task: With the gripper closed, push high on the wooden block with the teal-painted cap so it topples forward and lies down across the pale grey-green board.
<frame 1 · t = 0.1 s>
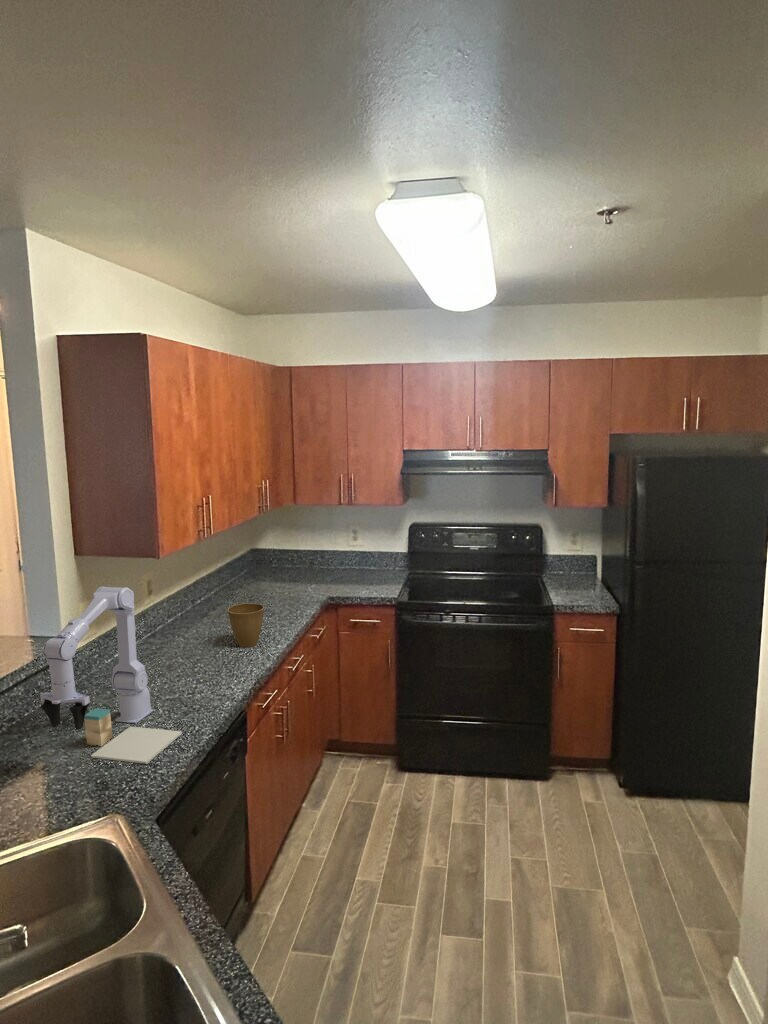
hand: (68, 726, 183), 10 cm above the counter, tool pointing down, fingers open, 7 cm apart
plant pot: (248, 645, 276), on the counter
wooden block: (99, 741, 196), on the counter
board: (137, 745, 192), on the counter
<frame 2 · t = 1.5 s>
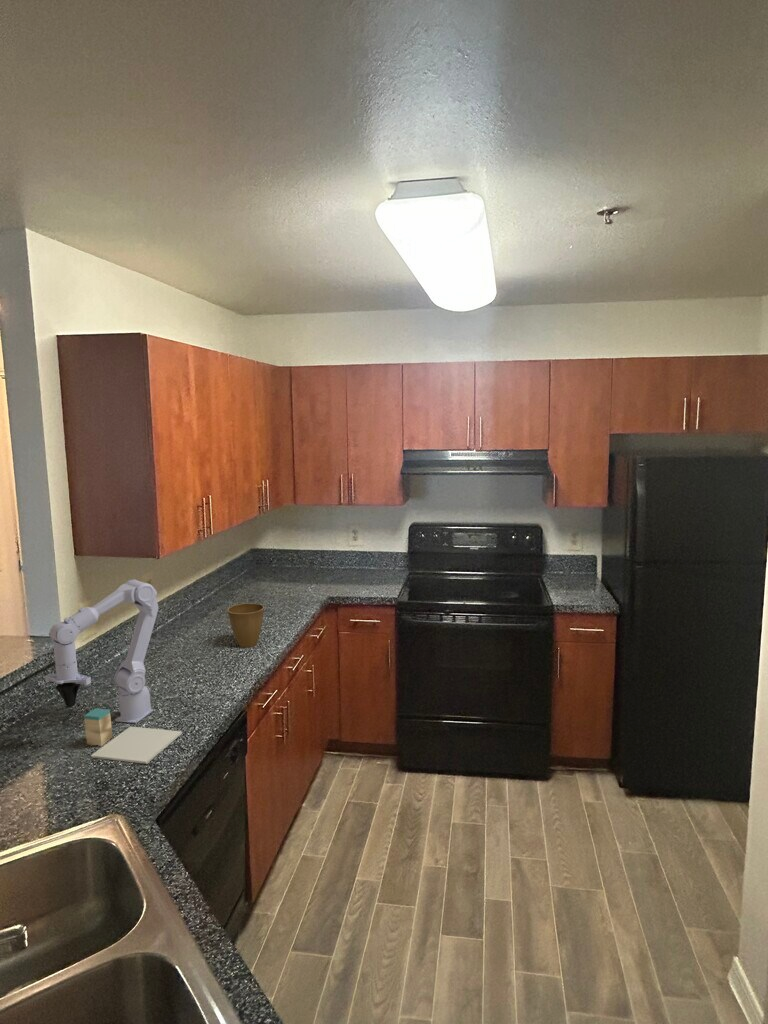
hand: (70, 705, 197), 10 cm above the counter, tool pointing down, fingers closed
nothing on the counter moved.
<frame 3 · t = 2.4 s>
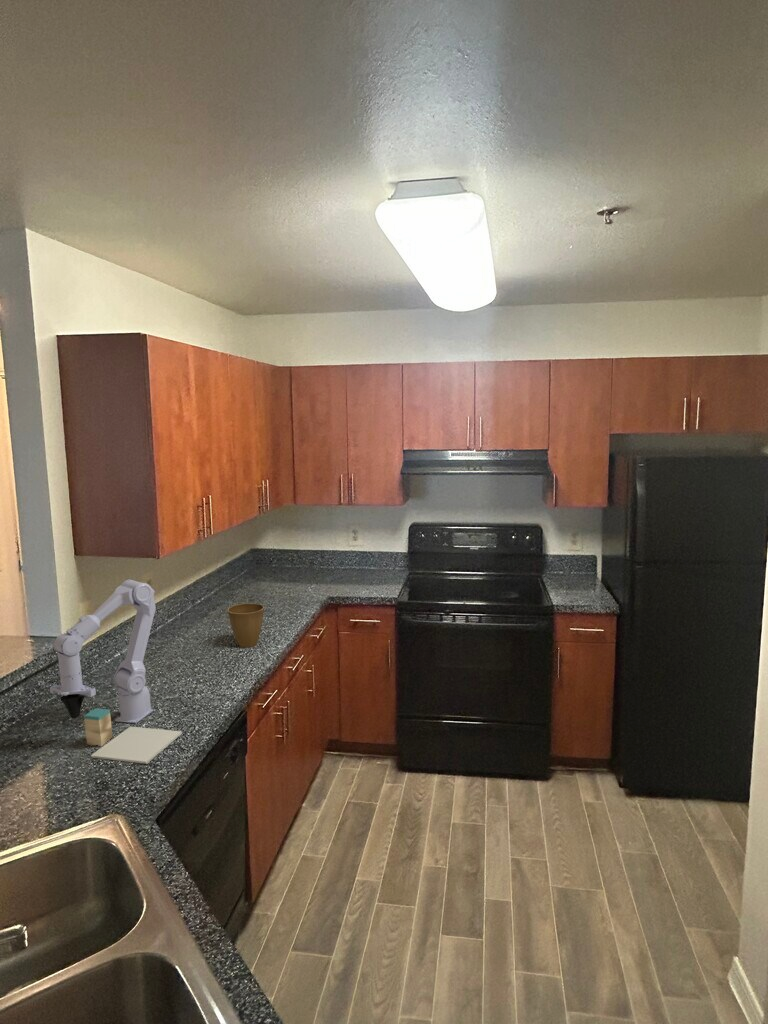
hand: (75, 717, 197), 7 cm above the counter, tool pointing down, fingers closed
nothing on the counter moved.
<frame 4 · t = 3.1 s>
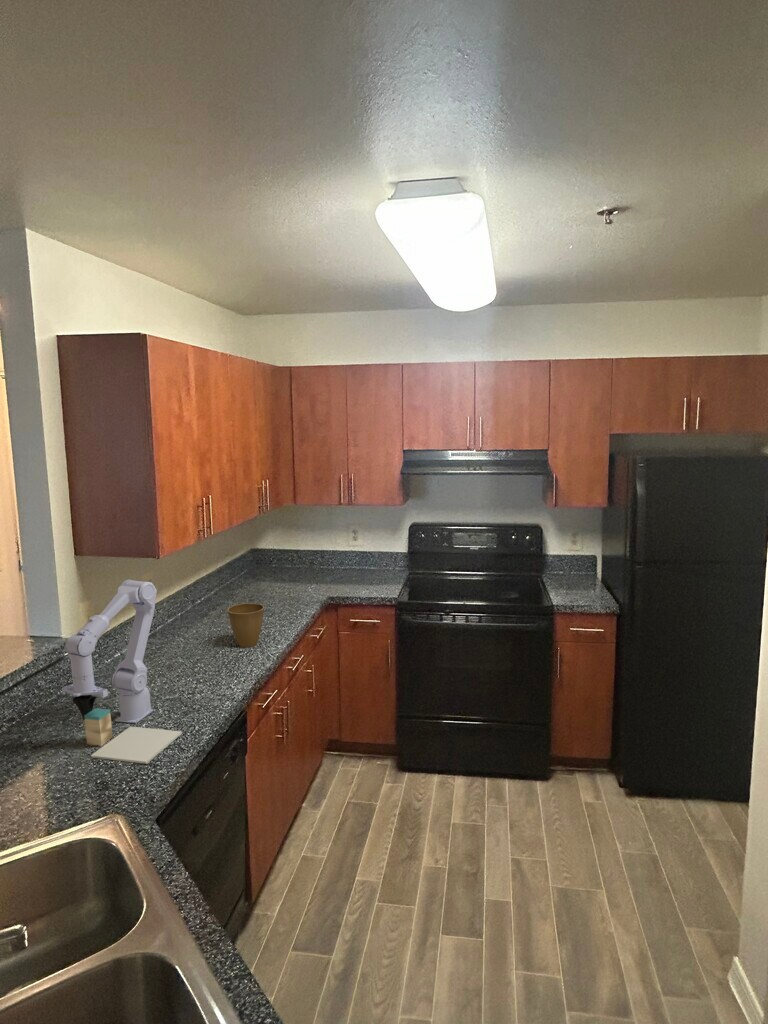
hand: (87, 718, 196), 7 cm above the counter, tool pointing down, fingers closed
wooden block: (99, 741, 196), on the counter, touching gripper
everything else where it was.
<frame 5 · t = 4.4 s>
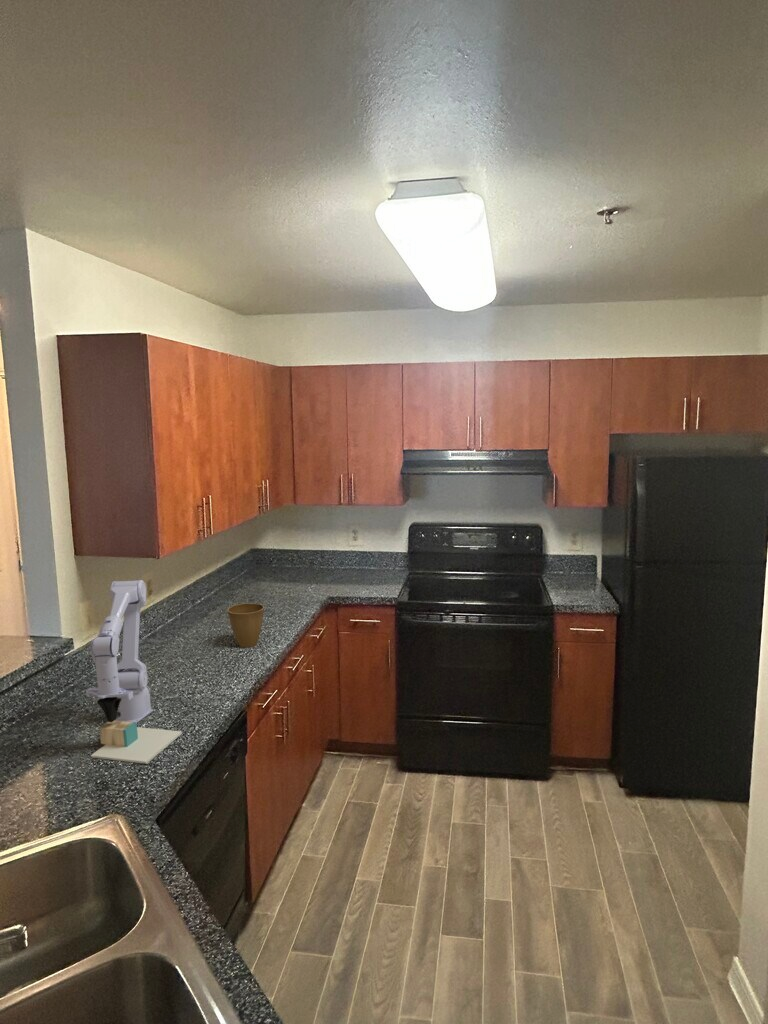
hand: (112, 720, 193), 7 cm above the counter, tool pointing down, fingers closed
wooden block: (105, 731, 195), point 3 cm above the counter, tilted 90°, touching board
everything else where it was.
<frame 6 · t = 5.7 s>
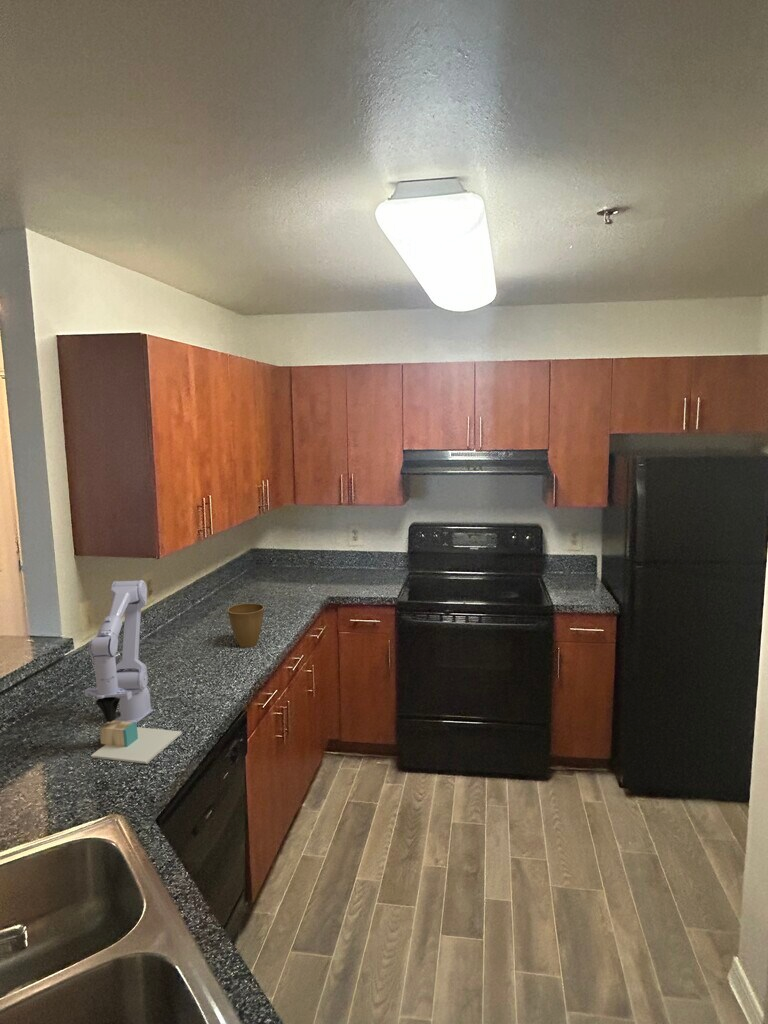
hand: (110, 720, 194), 7 cm above the counter, tool pointing down, fingers closed
nothing on the counter moved.
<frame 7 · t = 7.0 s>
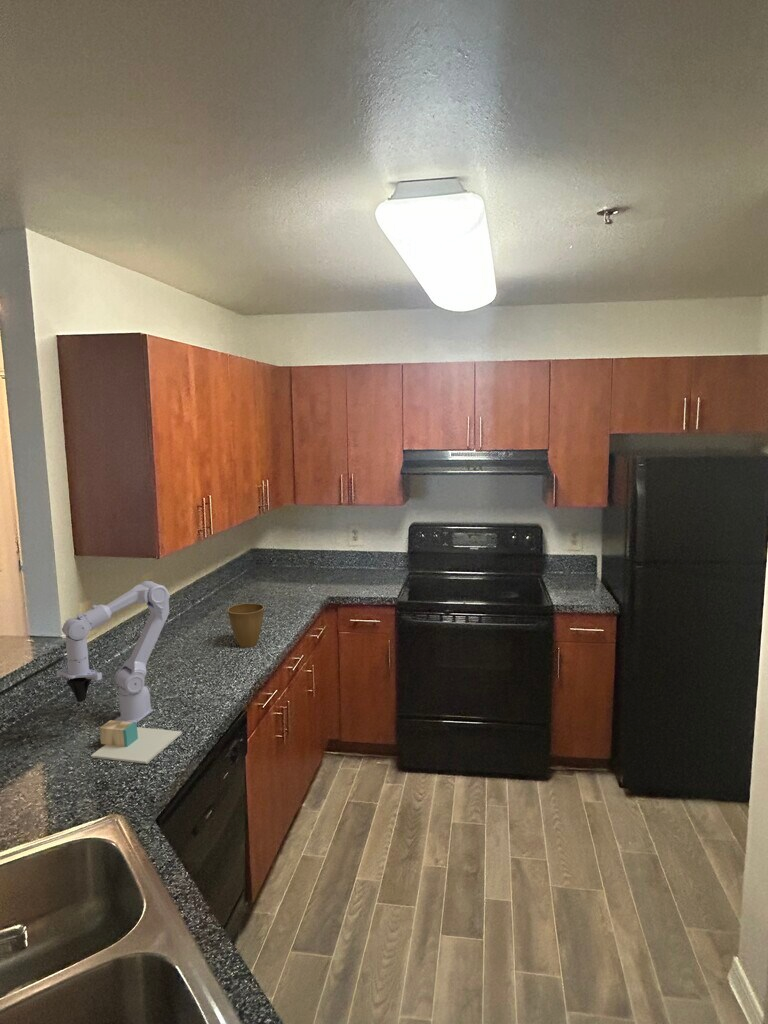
hand: (81, 700, 200), 10 cm above the counter, tool pointing down, fingers closed
nothing on the counter moved.
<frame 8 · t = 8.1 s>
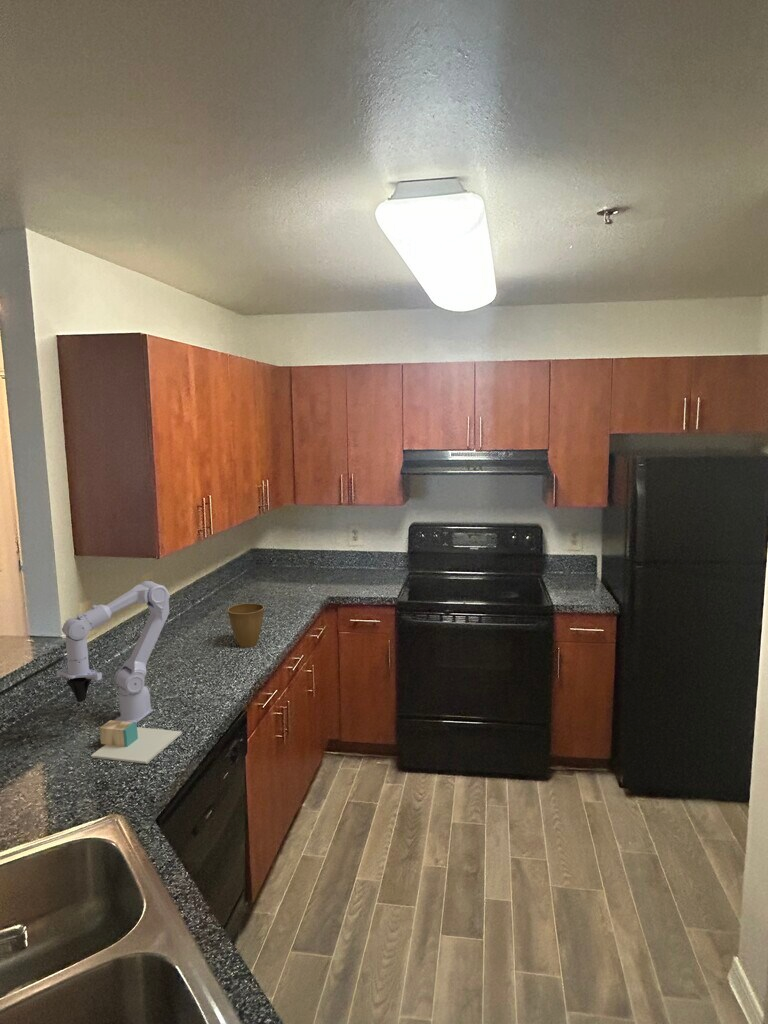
hand: (81, 700, 200), 10 cm above the counter, tool pointing down, fingers closed
nothing on the counter moved.
at the end: wooden block tilted 90°; wooden block touching board; wooden block inside the target area (3.2 cm from its centre), point 3.1 cm above the counter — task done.
